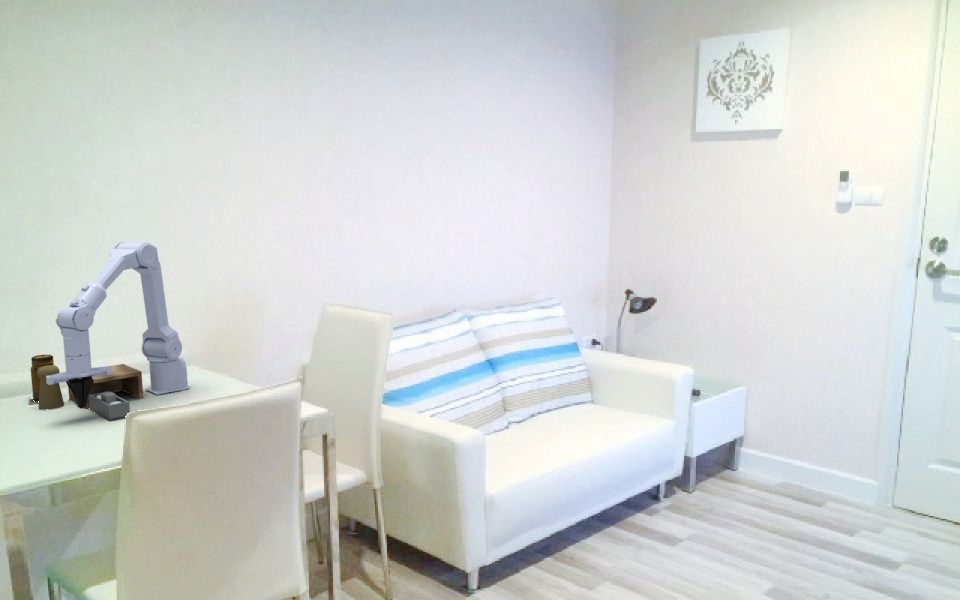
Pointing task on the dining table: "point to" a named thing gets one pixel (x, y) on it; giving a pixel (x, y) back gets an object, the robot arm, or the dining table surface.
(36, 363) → the condiment
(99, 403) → the tray
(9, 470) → the dining table surface
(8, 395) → the dining table surface
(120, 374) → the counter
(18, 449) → the dining table surface
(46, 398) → the cork
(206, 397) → the dining table surface
